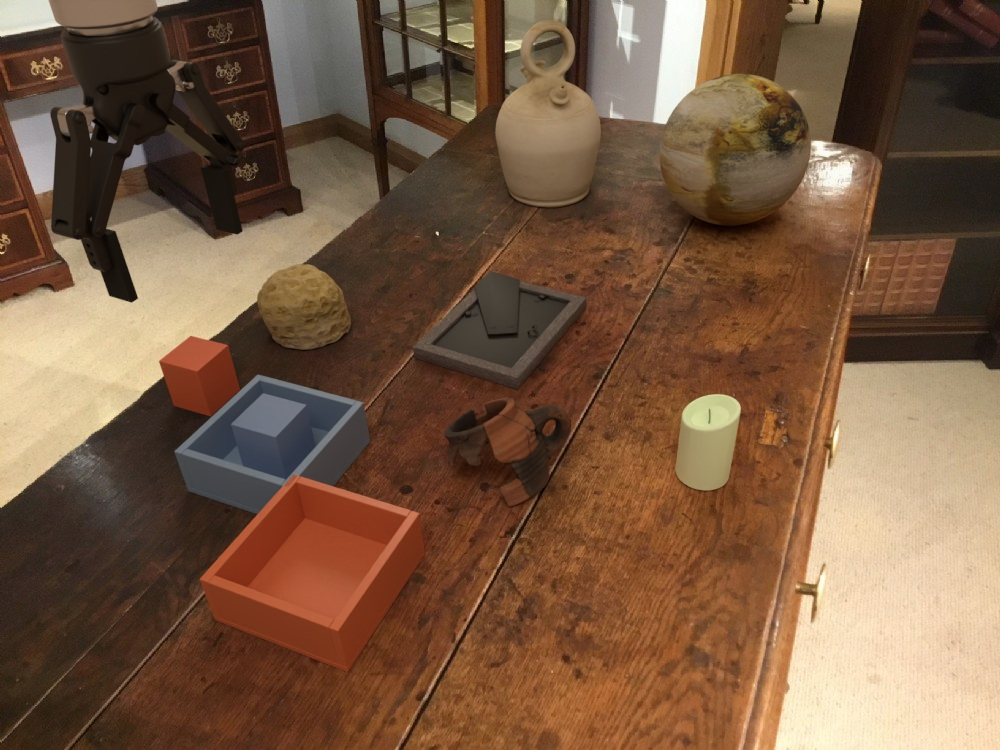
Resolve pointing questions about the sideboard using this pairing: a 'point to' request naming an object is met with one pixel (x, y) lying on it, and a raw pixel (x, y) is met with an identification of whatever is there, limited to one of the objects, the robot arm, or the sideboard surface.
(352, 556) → the rust bin
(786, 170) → the decorative sphere
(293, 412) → the slate block
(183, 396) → the rust block
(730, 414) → the candle
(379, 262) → the sideboard surface
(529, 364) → the picture frame
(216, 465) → the slate bin
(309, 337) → the rock
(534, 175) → the jug
